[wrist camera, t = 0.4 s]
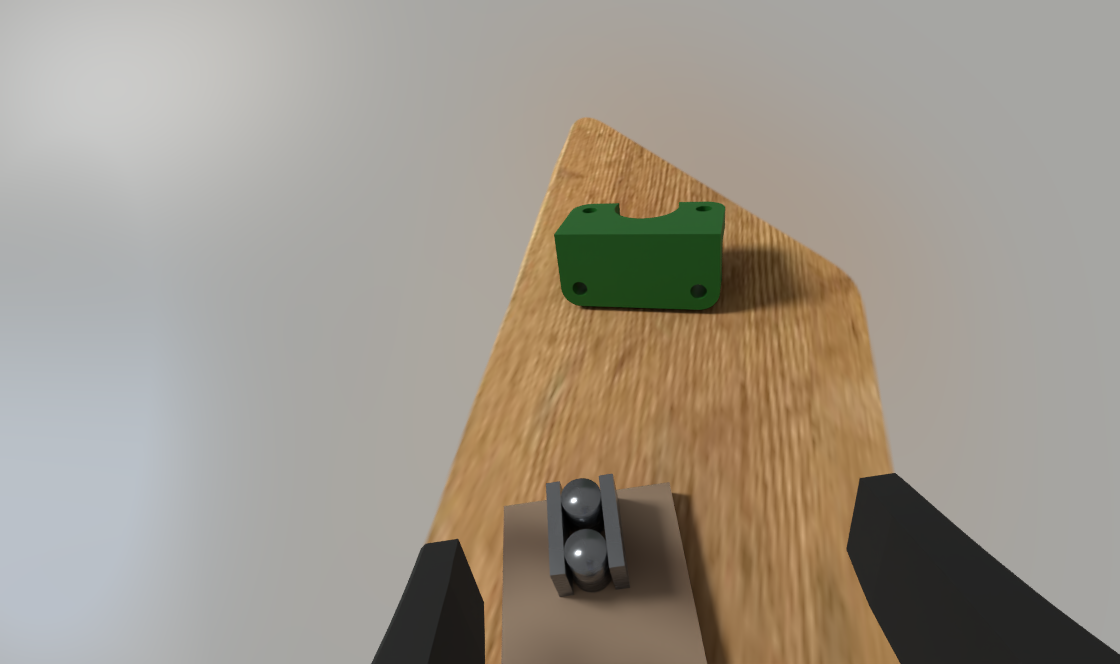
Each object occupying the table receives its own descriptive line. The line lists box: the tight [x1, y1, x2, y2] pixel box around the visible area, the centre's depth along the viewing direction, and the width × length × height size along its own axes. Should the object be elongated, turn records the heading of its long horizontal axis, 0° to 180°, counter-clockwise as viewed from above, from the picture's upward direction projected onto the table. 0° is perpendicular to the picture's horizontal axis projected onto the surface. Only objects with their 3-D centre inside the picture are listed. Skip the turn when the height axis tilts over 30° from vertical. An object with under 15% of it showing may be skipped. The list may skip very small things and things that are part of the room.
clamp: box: [554, 202, 725, 310], centre depth 44 cm, size 12×6×9 cm, turn 70°
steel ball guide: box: [546, 474, 630, 597], centre depth 26 cm, size 14×3×2 cm, turn 3°
